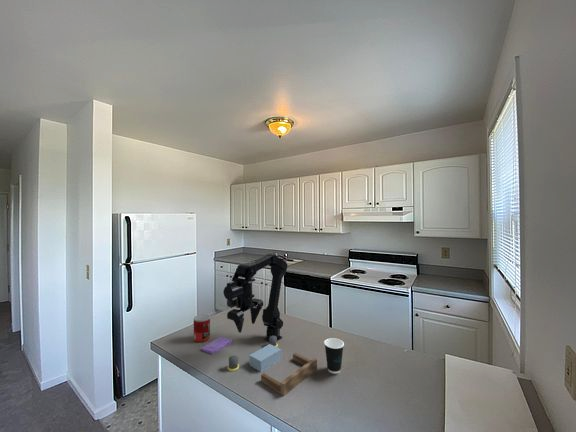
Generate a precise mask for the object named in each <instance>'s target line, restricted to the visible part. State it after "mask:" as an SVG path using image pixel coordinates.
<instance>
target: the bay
mask: <svg viewBox="0 0 576 432" xmlns="http://www.w3.org/2000/svg"><path fill="white" fill-rule="evenodd" d="M292 361H294V362H295V363H298V364H300V365H302V366H301V367H300V368H298V369H297V370H296V371H294V372H293V373H292V374H290V375H289V376H287V377H286V378H285V379H283V380H282V381H279V380H277V379H275V378H273V377H272V376H270V375H268V374H266V373H265V372H264V373H262V374H261V375H260V379H261V380H260V383H263V384H264V385H266V386H268V387H269V388H271V389H272V390H274V391H275V392H277V393H278V394H280V395H281V396H283V397H284V396H286V395H287V394H288V393H290V392H291V391H292V390H293V389H294V388H296V387H297V386H298V385H299V384H300V383H302V382H303V381H304V380H306V379H307V378H308V377H309V376H311V375H312V374H313V373H314V372H316V371H317V370H318V359H317V358H314V357H313V358H312V359H309V358H307V357H305V356H302V355H300V354H298V353H296V352H293V354H292Z"/></svg>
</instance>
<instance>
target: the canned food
mask: <svg viewBox="0 0 576 432" xmlns="http://www.w3.org/2000/svg"><path fill="white" fill-rule="evenodd" d="M210 338H211V316H210V315H209V314H197V315H196V316H194V317H193V340H194V341H195V342H196V343H205V342H207V341H209V340H210Z"/></svg>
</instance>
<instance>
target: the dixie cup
mask: <svg viewBox="0 0 576 432" xmlns="http://www.w3.org/2000/svg"><path fill="white" fill-rule="evenodd" d="M323 345H324V349H325V356H326V357H325V358H326V366H327V371H328V372H329V373H330V374H333V375H336V374H340V373H341V370H342V362H343V361H342V360H343V352H344V346H345V343H344V341H343V340H341V339H339V338H336V337H335V338H334V337H333V338H332V337H330V338H327V339H325V340H324V341H323Z"/></svg>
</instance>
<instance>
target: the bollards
mask: <svg viewBox="0 0 576 432" xmlns="http://www.w3.org/2000/svg"><path fill="white" fill-rule="evenodd" d="M277 341H278V340H277V337H276V336H270V337H269V340H268V344H267V345H269V344H271V345H273V346H275V347H277V348H278V347H279V344H278V343H277ZM239 369H240V364H239V356H238V355H231V356H229V357H228V365H227V371H229V372H235V371H236V372H237V370H239Z"/></svg>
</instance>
